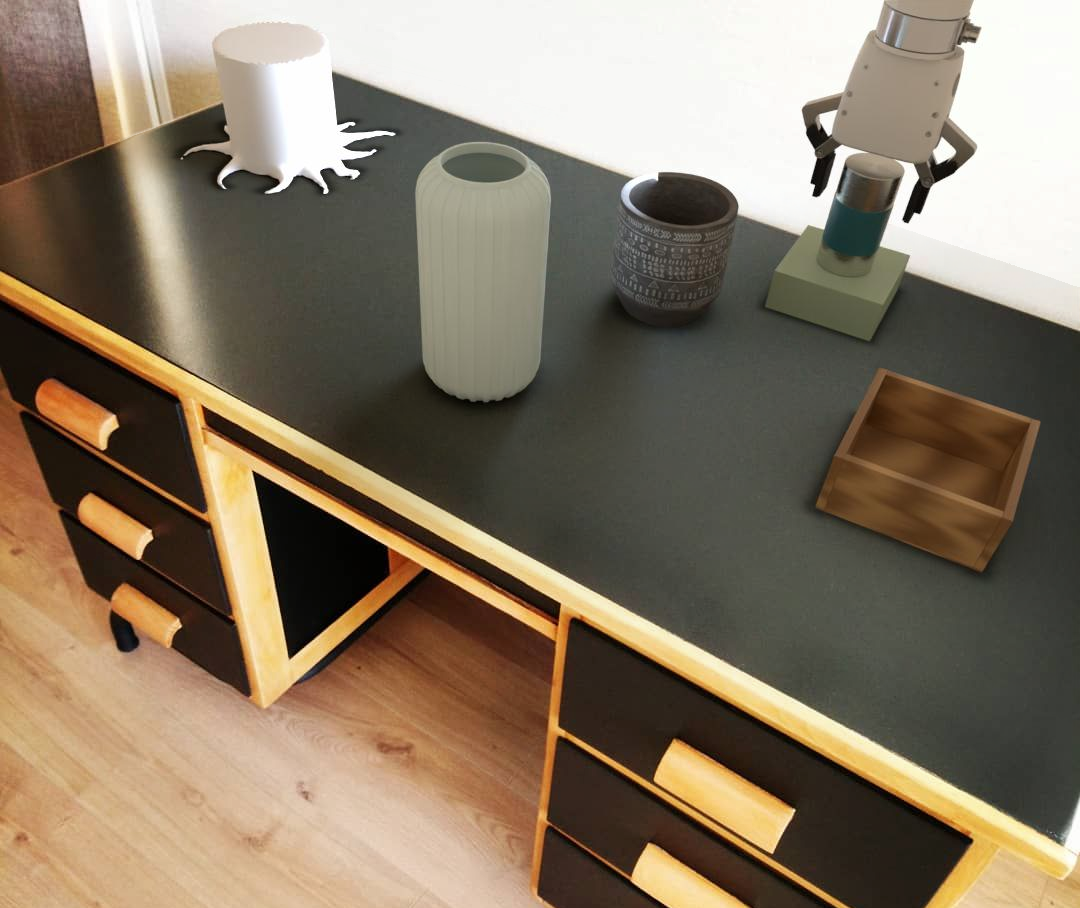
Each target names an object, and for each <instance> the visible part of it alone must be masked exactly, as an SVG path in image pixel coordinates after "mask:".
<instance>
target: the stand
mask: <svg viewBox="0 0 1080 908" xmlns="http://www.w3.org/2000/svg"><path fill="white" fill-rule="evenodd" d="M823 232H824V229H823V228H820V227H816V226H813V225H810V224H808V225H807V226H806V227H805V228H804V230H803V231H802V233H801V234H800V236H798V238H797V240H796V241H795V242H794V243H793V245H792V246H791V248H790V249H789V250H788V251H787V252H786V254H785V256H784V257H783V258H782V259H781V261H780V263H779V264H778V265H777V266H776V267H775V269H774V271H773V275H772V277H771V283H770V286H769V289H768V294H767V297H766V301H765V304H764V308H767V309H771V310H773V311H776V312H779V313H782V314H785V315H789V316H791V317H794V318H797V319H800V320H804V321H806V322H809V323H812V324H814V325H815V324H816V325H819V326H822V327H824V328H827V329H831V330H833V331H837V332H840V333H843V334H845V335H850V336H851V337H855V338H858V339H860V340H864V341H867V342H871V340H872V338H873V336H874V335H875V333H876V331H877V328H878V327H879V325H880V323H881V321H882V320H883V318H884V316H885V315H886V312H887V311H888V308H889V307H890V305H891V303H892V301H893V299H894V298H895V296H896V294H897V292H898V290H899V287H900V285H901V282H902V279H903V276H904V273H905V271H906V268H907V265H908V263H909V260H910V258H911V255H910V254H907V253H904V252H902V251H898V250H894V249H891V248H887V247H884V246H881V245H880V246H879V249H878V251H877V253H876V256H875V259H874V262H873V265H872V268H871V270H870V271H869V272H868V273H867V274H865V275H863V276H858V277H845V276H840V275H836V274H833V273H831V272H829V271H827V270H825V269H824V268H822V267H821V266H820V265H819V264H818V262H817V254H818V250H819V247H820V244H821V240H822V236H823Z"/></svg>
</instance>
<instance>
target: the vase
mask: <svg viewBox="0 0 1080 908" xmlns="http://www.w3.org/2000/svg"><path fill="white" fill-rule="evenodd" d="M414 194H415V195H414V197H415V217H416V218H415V219H416V221H415V222H416V235H417V236H416V239H417V240H416V241H417V242H416V244H417V260H418V261H417V262H418V282H419V284H418V285H419V286H418V287H419V306H420V310H419V311H420V327H421V328H420V329H421V350H422V351H421V352H422V354H421V355H422V362H423V366H424V370H425V372H426V374H427V375H428V377H429V378H430V379H431V380H432V382H433V383H434V384H435V386H436V387H438V388H439V389H441V390H443V391H444V392H445V393H446V394H448V395H450V396H452V397H454V396H455V397H456V398H457V399H460V400H463V401H464V400H469V401H470V402H473V403H476V402H478V401H482V402H483V403H489V402H490V401H496V402H498V401H502V400H503V399H504V398H507V399H509V398H511V397H513V396H515V395H516V394H518V393H520V392H522V391H524V390H525V389H526V388H527V386H528V385H529V384H531V383H532V382H533V380H534V379H535V377H536V376H537V372H538V371H539V367H540V363H541V353H542V341H543V340H542V339H543V338H542V337H543V326H544V325H543V323H544V308H545V307H544V306H545V305H544V304H545V293H546V279H547V278H546V277H547V276H546V275H547V264H548V263H547V261H548V248H549V234H550V232H549V231H550V217H551V204H552V203H551V201H552V197H551V195H552V194H551V187H550V183H549V180H548V178H547V177H546V175H545V172H544V171H543V170H542V168H541V167H540V166H539V165H538V164H537V163H536V162H535V161H533V160H532V159H531V158H530V157H528V156H527V155H525V154H524V153H523V152H521V151H520V150H518V149H516V148H515V147H512V146H510V145H506V144H503V143H497V142H491V141H470V142H464V143H463V142H462V143H458V144H456V145H453V146H451V147H448V148H446V149H445V150H443V151H442V152H440V153H439V154H438V155H436V156H434V157H433V158H432V159H431V160H429V161H428V162H427V163H426V165H425V166H424V167H423V169H422V170H421V171H420V173H419V175H418V178H417V180H416V185H415V193H414Z"/></svg>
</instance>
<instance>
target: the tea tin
mask: <svg viewBox="0 0 1080 908" xmlns="http://www.w3.org/2000/svg"><path fill="white" fill-rule="evenodd" d="M905 172H906V170H905V168H904V165H903V164H901V163H900V161H898V160H895V159H891V158H887V157H883V156H879V155H875V154H872V153H868V152H856V153H853V154H851V155H848V156H847V157H846V158H845V160H844V163H843V166H842V170H841V173H840V177H839V180H838V183H837V187H836V190H835V192H834V195H833V199H832V202H831V205H830V208H829V212H828V216H827V219H826V222H825V225H824V229H823V230H824V232H823V236H822V240H821V244H820V247H819V250H818V254H817V262H818V264H819V265H820V266H821V267H822V268H824V269H825V270H827V271H829V272H831V273H833V274H836V275H840V276H845V277H858V276H863V275H865V274H867V273H868V272H869V271H870V270H871V268H872V265H873V262H874V259H875V256H876V253H877V251H878V249H879V246H881V243H882V241H883V237H884V234H885V232H886V229H887V226H888V223H889V220H890V217H891V214H892V211H893V210H894V205H895V202H896V198H897V195H898V193H899V190H900V187H901V184H902V182H903V179H904V176H905Z"/></svg>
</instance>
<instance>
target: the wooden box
mask: <svg viewBox="0 0 1080 908" xmlns="http://www.w3.org/2000/svg"><path fill="white" fill-rule="evenodd" d="M1040 426H1041V421H1040V420H1037V419H1034V418H1032V417H1029V416H1026V415H1022V414H1019V413H1016V412H1013V411H1010V410H1007V409H1005V408H1001V407H998V406H996V405H993V404H989V403H988V402H983V401H981V400H978V399H975V398H972V397H969V396H966V395H964V394H963V395H962V394H961V393H958V392H954V391H951V390H948V389H945V388H942V387H940V386H936V385H933V384H930V383H928V382H924V381H921V380H918V379H915V378H913V377H909V376H906V375H904V374H900V373H898V372H895V371H892V370H890V369H886V368H882V367H879V368H878V369H877V371H876V374H875V375H874V377H873V379H872V381H871V383H870V384H869V387H868V389H867V390H866V392H865V395H864V397H863V399H862V401H861V403H860V404H859V407H858V408H857V410H856V412H855V414H854V416H853V418H852V420H851V422H850V423H849V426H848V428H847V429H846V432H845V433H844V436H843V438H842V440H841V442H840V444H839V446H838V448H837V449H836V452H835V453H834V456H833V458H832V461H831V464H830V466H829V469H828V472H827V474H826V476H825V480H824V482H823V485H822V488H821V490H820V493H819V494H818V495H819V496H818V498H817V501H816V503H815V506H814V508H815V509H818V510H820V511H823V512H825V513H828V514H830V515H833V516H836V517H838V518H841V519H842V520H845V521H848V522H851V523H853V524H856V525H859V526H861V527H864V528H865V529H866V528H867V529H869V530H871V531H874V532H875V533H876V532H877V533H879V534H882V535H884V536H887V537H889V538H892V539H894V540H897V541H900V542H902V543H905V544H908V545H910V546H913V547H915V548H918V549H920V550H923V551H926V552H929V553H930V554H933V555H935V556H939V557H940V558H943V559H946V560H948V561H951V562H954V563H957V564H959V565H961V566H964V567H967V568H969V569H972V570H974V571H977V572H980V573H983V571H984V570H985V568H986V567H987V565H988V563H989V561H990V560H991V558H992V557H993V555H994V553H995V551H996V550H997V548H998V546H999V545H1000V544H1001V541H1002V540H1003V538H1004V537H1005V535H1006V534H1007V532H1008V530H1009V529H1010V527H1011V525H1012V524H1013V521H1014V519H1015V515H1016V511H1017V507H1018V504H1019V501H1020V497H1021V493H1022V490H1023V486H1024V484H1025V479H1026V476H1027V472H1028V468H1029V465H1030V461H1031V458H1032V454H1033V450H1034V447H1035V444H1036V440H1037V437H1038V433H1039V429H1040Z"/></svg>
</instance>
